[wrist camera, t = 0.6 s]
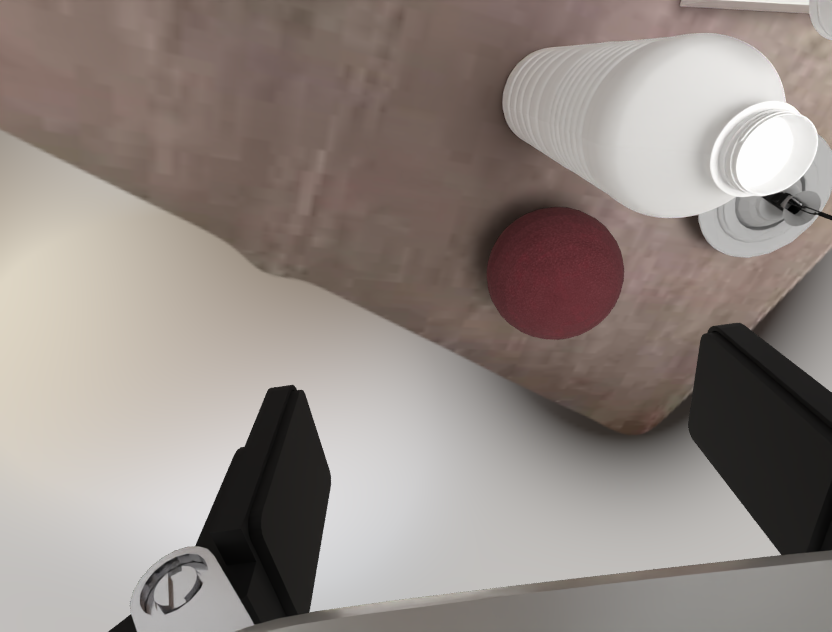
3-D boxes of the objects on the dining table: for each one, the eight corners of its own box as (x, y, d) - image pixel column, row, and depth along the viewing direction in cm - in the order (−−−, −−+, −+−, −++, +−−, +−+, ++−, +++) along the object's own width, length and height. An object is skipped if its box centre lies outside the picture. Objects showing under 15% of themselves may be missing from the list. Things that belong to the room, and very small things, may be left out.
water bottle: (566, 155, 37) (801, 288, 15) (488, 128, 36) (620, 231, 14) (620, 30, 34) (1037, -30, 12) (535, -3, 33) (813, -139, 11)
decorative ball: (525, 168, 38) (562, 201, 29) (620, 231, 41) (680, 278, 32) (455, 270, 42) (470, 326, 33) (546, 321, 44) (582, 386, 36)
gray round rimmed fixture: (1006, 202, 27) (896, 109, 25) (857, 335, 31) (749, 267, 29) (835, 162, 38) (746, 95, 36) (740, 265, 42) (654, 211, 40)
